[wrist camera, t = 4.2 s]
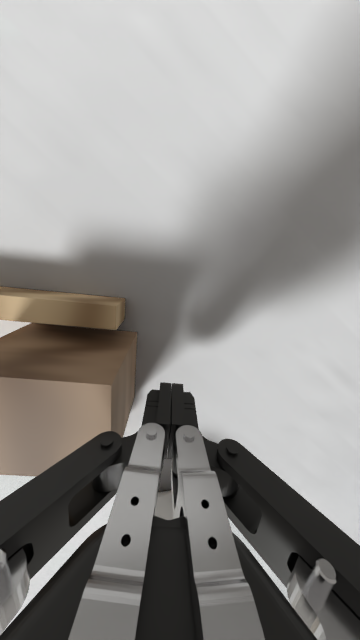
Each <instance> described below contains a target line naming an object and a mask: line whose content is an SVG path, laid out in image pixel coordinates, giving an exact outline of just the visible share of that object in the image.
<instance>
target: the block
mask: <svg viewBox="0 0 360 640" xmlns="http://www.w3.org/2000/svg"><path fill="white" fill-rule="evenodd" d="M136 351H137V332H130V331H118V330H107V329H95V328H84V327H72V326H61V325H50V324H38V323H31V324H29V325H26V326H24V327H22V328H20V329H18V330H16V331H14V332H11V333H9V334H7V335H5V336H3V337H1V338H0V475H19V476H38V475H40V474H41V473H43V472H44V471H45V470H47V469H48V468H50V467H51V466H53V465H54V464H56V463H57V462H59V461H60V460H62V459H63V458H65V457H66V456H68V455H69V454H71V453H72V452H74V451H75V450H76V449H78V448H79V447H81V446H82V445H84V444H85V443H87V442H88V441H90V440H91V439H93V438H94V437H96V436H97V435H99V434H100V433H103V432H106V431H113V432H116V433H118V434H119V435H120V436H121V438H123V435H124V431H125V428H126V424H127V421H128V417H129V414H130V410H131V407H132V403H133V400H134V394H135V372H136Z"/></svg>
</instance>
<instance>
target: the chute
mask: <svg viewBox="0 0 360 640" xmlns="http://www.w3.org/2000/svg"><path fill="white" fill-rule="evenodd" d="M124 319H125V298H117V297H106V296H96V295H85V294H75V293H64V292H54V291H44V290H33V289H23V288H12V287H2V286H0V320H9V321H20V322H32V323H43V324H55V325H66V326H77V327H89V328H100V329H112V330H116V329H117V328H118V327H119V326H120V324H121V323H122V322H123V320H124Z"/></svg>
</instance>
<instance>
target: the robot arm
mask: <svg viewBox="0 0 360 640" xmlns="http://www.w3.org/2000/svg"><path fill="white" fill-rule="evenodd" d="M167 449H168V459H172V468H171V488H172V504H173V519H172V520H165V519H163V518H160V517H157V516H155V512H156V505H157V497H158V490H159V483H160V475H161V471H162V468H163V460H164V459H166V458H167ZM116 493H117V494H116ZM115 494H116V497H115V500H114V503H113V507H112V510H111V513H110V516H109V519H108V523H107V524H106V525H104V526H102V527H101V528H99V529H98V530H96V531H95V532H94V533H92V534H91V535H90V536H89V537H88V538H87V539H86V540H85V541H84V542H83V543H82V544H81V546H80V547H79V548H78V549H77V550H76V551H75V552H74V553H73V554H72V556H71V557H70V558H69V559H68V560H67V561H66V562H65V563H64V565H63V566H62V567H61V568H60V569H59V570H58V571H57V572H56V574H55V575H54V576H53V577H52V578H51V579H50V580H49V581H48V583H47V584H46V585H45V586H44V587H43V588H42V589H41V590H40V591H39V593H38V594H37V595H36V596H35V597H34V598H33V599H32V600H31V602H30V603H29V604H28V605H27V606H26V607H25V608H24V609H23V611H22V612H21V613H20V614H19V615H18V616H17V617H16V618H15V619H14V621H13V622H12V623H11V624H10V625H9V626H8V627H7V625H8V624H9V623H10V621H11V620H12V619H13V618H14V616H15V615H16V614H17V612H18V611H19V609H20V608H21V606H22V604H23V603H24V601H25V598H26V596H27V593H28V590H29V585H30V579H31V578H32V577H33V576H34V575H35V574H36V573H37V572H38V571H39V570H40V569H41V568H42V567H43V566H44V565H45V564H46V563H47V562H48V561H49V560H50V559H51V558H52V557H53V556H54V555H55V554H56V553H57V552H58V551H59V550H60V549H61V548H62V547H63V546H64V545H65V544H66V543H67V542H68V541H69V540H70V539H71V538H72V537H73V536H74V535H75V534H76V533H77V532H78V531H79V530H80V529H81V528H82V527H83V526H84V525H85V524H86V523H87V522H88V521H89V520H90V519H91V518H92V517H93V516H94V515H95V514H96V513H97V512H98V511H99V510H100V509H101V508H102V507H103V506H104V505H105V504H106V503H107V502H108V501H109V500H110V499H111V498H112V497H113V496H114V495H115ZM228 517H229V519H230V520H231V521H232V522H233V524H234V525H235V526H236V527H237V528H238V530H239V531H240V532H241V533H242V534H243V536H244V537H245V538H246V539H247V540H248V542H249V543H250V544H251V545H252V547H253V548H254V549H255V550H256V551H257V553H258V554H259V555H260V556H261V557H262V559H263V560H264V561H265V562H266V563H267V565H268V566H269V567H270V568H271V570H272V571H273V572H274V573H275V574H276V576H277V577H278V578H279V579H280V580H281V582H282V583H283V584H284V585H285V586H286V588H287V593H288V598H289V601H290V603H289V602H288V600H287V599H286V598H285V596H284V595H283V594H282V593H281V591H280V590H279V589H278V587H277V586H276V585H275V583H274V582H273V581H272V580H271V578H270V577H269V576H268V574H267V573H266V572H265V570H264V569H263V568H262V566H261V565H260V564H259V563H258V561H257V560H256V559H255V557H254V556H253V555H252V553H251V552H250V551H249V549H248V548H247V547H246V546H245V544H244V543H243V542H242V541H241V540H240V539H239V538H238V537H237V536H236V535H235V534H234V533H232V531H231V527H230V523H229V520H228ZM6 627H7V628H6ZM5 628H6V630H5ZM4 630H5V631H4ZM3 631H4V632H3ZM0 640H360V546H359V545H358V544H357V543H356V542H355V541H353V540H352V539H351V538H350V537H349V536H348V535H346V534H345V533H344V532H343V531H342V530H341V529H339V528H338V527H337V526H336V525H335V524H334V523H332V522H331V521H330V520H329V519H328V518H327V517H325V516H324V515H323V514H322V513H321V512H319V511H318V510H317V509H316V508H315V507H314V506H312V505H311V504H310V503H309V502H308V501H307V500H305V499H304V498H303V497H302V496H301V495H300V494H298V493H297V492H296V491H295V490H294V489H292V488H291V487H290V486H289V485H288V484H287V483H285V482H284V481H283V480H282V479H281V478H280V477H278V476H277V475H276V474H275V473H274V472H273V471H271V470H270V469H269V468H268V467H267V466H265V465H264V464H263V463H262V462H261V461H260V460H258V459H257V458H256V457H255V456H254V455H253V454H251V453H250V452H249V451H248V450H247V449H246V448H244V447H243V446H242V445H241V444H240V443H238V442H237V441H235V440H232V439H224V440H222V441H220V442H219V444H217V443H214V442H211V441H209V440H207V439H206V438H204V437H203V436H202V434H201V432H200V431H199V429H198V422H197V415H196V408H195V401H194V397H193V396H192V394H191V393H190V392H183V384H175V383H172V387H171V383H160V390H151V391H150V392H149V393H148V395H147V400H146V406H145V411H144V416H143V421H142V426H141V428H140V429H139V431H138V432H136V433H135V434H133V435H131V436H128V437H123V438H121V436H120V435H119V434H118V433H116V432H113V431H106V432H103V433H100V434H99V435H97V436H96V437H94V438H93V439H91V440H90V441H88V442H87V443H85V444H84V445H82V446H81V447H79V448H78V449H76V450H75V451H74V452H72V453H71V454H69V455H68V456H66V457H65V458H63V459H62V460H60V461H59V462H57V463H56V464H54V465H53V466H51V467H50V468H48V469H47V470H45V471H44V472H43V473H41V474H40V475H38V476H37V477H35V478H34V479H32V480H31V481H29V482H28V483H26V484H25V485H23V486H22V487H20V488H19V489H17V490H16V491H14V492H13V493H11V494H10V495H9V496H7V497H6V498H4V499H3V500H1V501H0Z"/></svg>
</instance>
